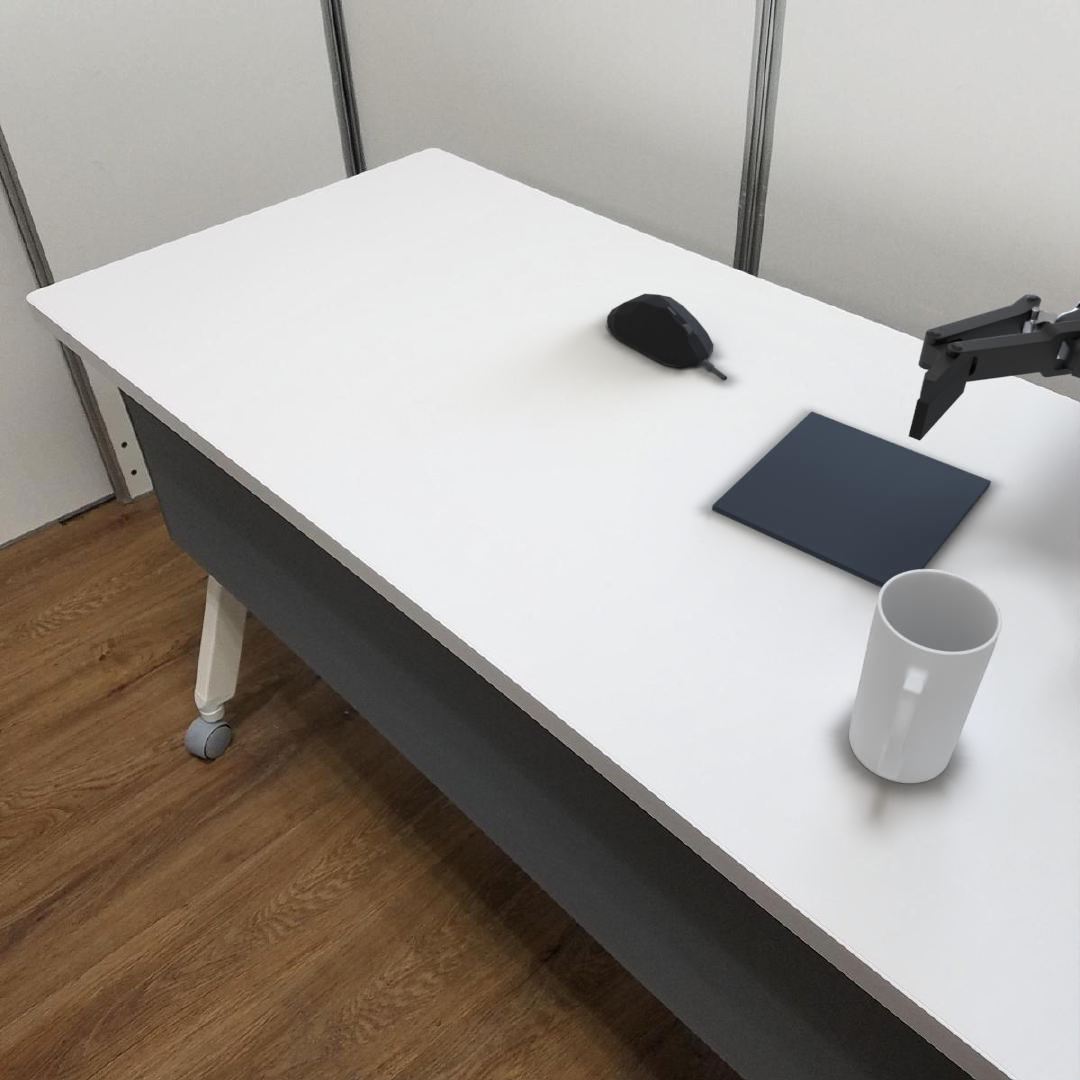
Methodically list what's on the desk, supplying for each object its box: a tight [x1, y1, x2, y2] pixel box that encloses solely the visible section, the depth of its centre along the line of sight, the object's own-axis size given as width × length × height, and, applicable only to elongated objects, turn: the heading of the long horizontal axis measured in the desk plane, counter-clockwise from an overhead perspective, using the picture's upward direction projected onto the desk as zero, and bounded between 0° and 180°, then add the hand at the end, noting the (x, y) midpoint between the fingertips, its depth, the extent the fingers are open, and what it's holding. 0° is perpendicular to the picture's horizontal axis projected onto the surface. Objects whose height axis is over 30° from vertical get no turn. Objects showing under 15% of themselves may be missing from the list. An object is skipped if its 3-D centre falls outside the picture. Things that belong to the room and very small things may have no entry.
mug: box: [848, 568, 1003, 784], centre depth 66 cm, size 10×7×12 cm, turn 152°
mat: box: [711, 411, 992, 588], centre depth 90 cm, size 16×16×1 cm
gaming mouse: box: [606, 293, 728, 381], centre depth 106 cm, size 6×15×4 cm, turn 38°
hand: (1028, 463), depth 65 cm, fingers open, 13 cm apart
